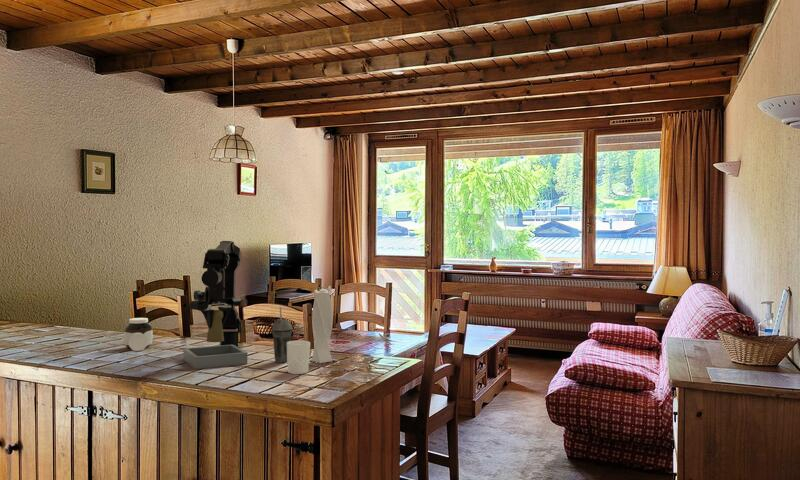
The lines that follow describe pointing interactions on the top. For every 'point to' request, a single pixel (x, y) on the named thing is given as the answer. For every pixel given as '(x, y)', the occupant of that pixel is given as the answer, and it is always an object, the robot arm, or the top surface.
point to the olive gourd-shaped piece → (216, 328)
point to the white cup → (298, 356)
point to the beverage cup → (281, 338)
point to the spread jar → (138, 334)
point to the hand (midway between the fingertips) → (215, 327)
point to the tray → (215, 356)
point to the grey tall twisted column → (322, 325)
